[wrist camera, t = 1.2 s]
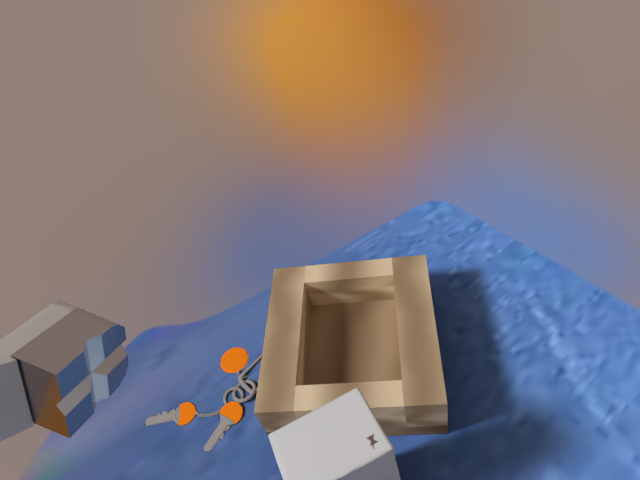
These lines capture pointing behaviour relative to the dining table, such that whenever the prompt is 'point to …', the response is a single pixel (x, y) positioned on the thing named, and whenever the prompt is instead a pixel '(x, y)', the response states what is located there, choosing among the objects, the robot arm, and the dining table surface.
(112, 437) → the dining table surface
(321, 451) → the skincare box
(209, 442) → the key chain
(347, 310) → the socket block
